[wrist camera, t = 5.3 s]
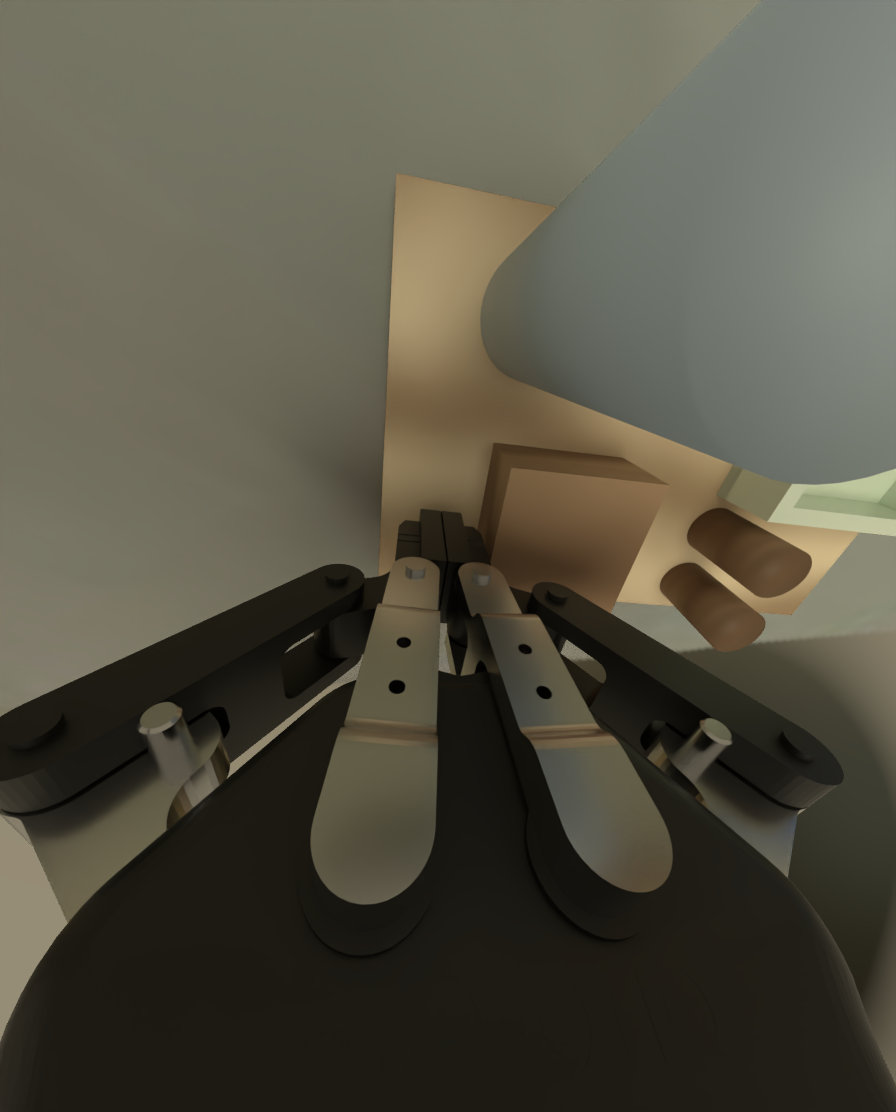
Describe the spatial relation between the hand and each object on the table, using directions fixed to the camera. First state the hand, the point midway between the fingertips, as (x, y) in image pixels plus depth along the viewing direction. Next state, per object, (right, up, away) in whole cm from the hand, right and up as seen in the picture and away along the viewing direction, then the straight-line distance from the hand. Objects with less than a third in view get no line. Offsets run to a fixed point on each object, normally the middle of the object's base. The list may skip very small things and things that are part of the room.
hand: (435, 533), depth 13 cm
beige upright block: (+4, +1, +1) cm, 4 cm away
